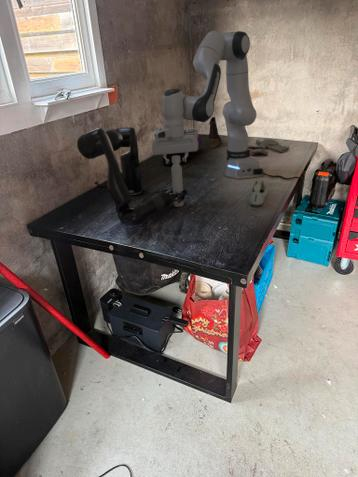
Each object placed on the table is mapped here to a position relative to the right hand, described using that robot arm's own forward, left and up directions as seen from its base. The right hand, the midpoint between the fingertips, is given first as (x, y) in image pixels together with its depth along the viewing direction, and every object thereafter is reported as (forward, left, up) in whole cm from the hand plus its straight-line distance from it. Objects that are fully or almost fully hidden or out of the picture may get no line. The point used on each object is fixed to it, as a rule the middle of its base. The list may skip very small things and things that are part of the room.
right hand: (176, 162), depth 148 cm
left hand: (-2, -2, -14) cm, 14 cm away
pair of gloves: (-59, -84, -21) cm, 105 cm away
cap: (0, 0, +2) cm, 2 cm away
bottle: (0, 0, -21) cm, 21 cm away
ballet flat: (-39, -3, -21) cm, 44 cm away
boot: (-29, -107, -21) cm, 113 cm away
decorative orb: (-10, -88, -21) cm, 91 cm away
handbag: (+1, -68, -21) cm, 71 cm away
